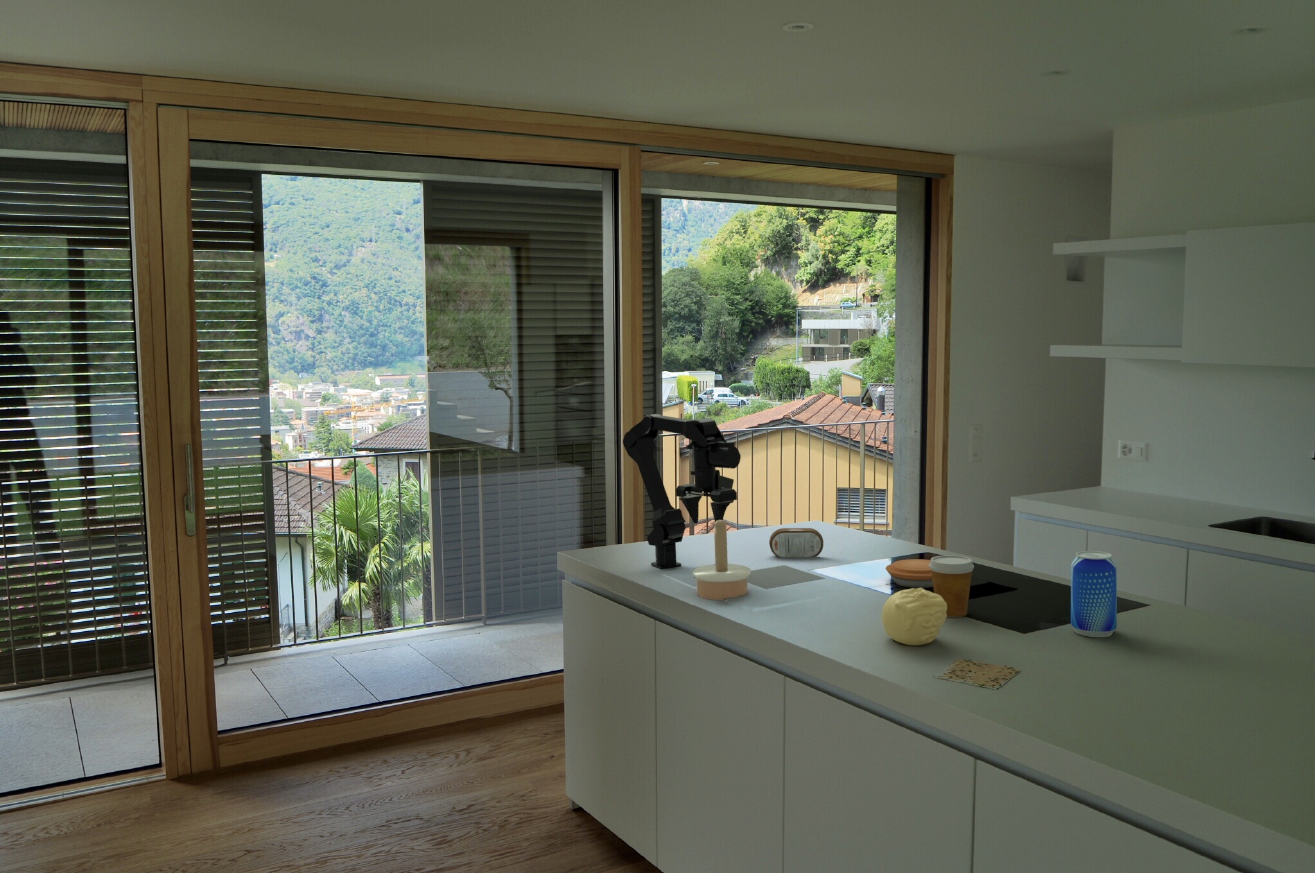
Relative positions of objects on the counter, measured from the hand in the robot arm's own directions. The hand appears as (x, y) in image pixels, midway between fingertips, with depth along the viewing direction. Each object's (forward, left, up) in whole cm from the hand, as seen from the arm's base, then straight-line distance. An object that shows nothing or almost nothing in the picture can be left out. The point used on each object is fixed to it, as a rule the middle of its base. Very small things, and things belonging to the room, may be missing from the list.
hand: (707, 525), depth 260 cm
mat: (+15, +11, -13) cm, 23 cm away
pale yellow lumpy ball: (+74, +4, -13) cm, 75 cm away
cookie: (+95, 0, -14) cm, 96 cm away
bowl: (+20, -8, -13) cm, 25 cm away
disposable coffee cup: (+64, +24, -13) cm, 69 cm away
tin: (-1, +29, -13) cm, 32 cm away
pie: (+39, +37, -13) cm, 55 cm away
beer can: (+90, +37, -13) cm, 98 cm away
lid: (+20, -8, -9) cm, 23 cm away
